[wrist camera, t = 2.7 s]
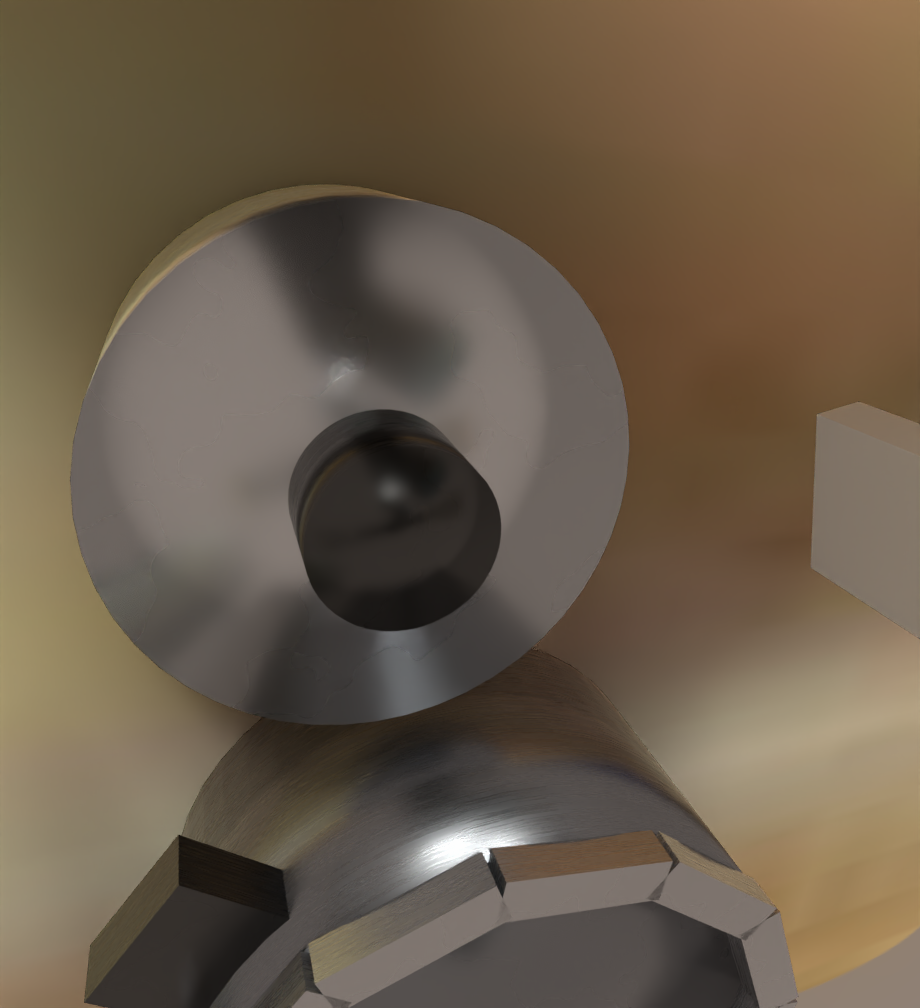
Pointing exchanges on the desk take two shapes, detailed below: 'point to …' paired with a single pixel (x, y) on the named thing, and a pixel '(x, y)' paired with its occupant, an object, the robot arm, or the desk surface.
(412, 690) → the lid
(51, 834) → the desk surface
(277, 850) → the pot
